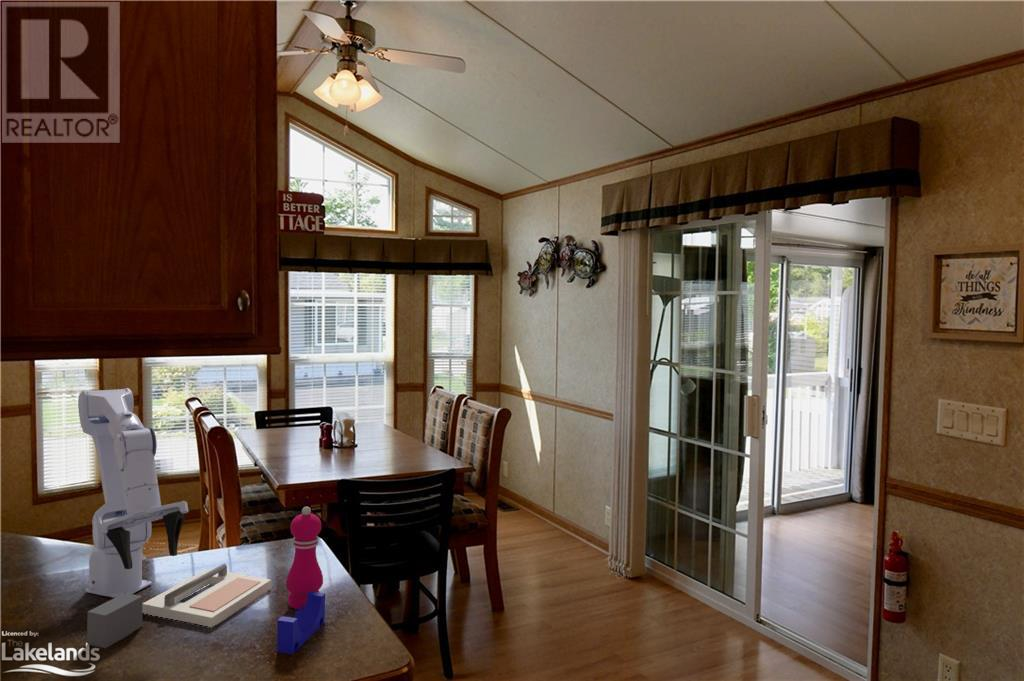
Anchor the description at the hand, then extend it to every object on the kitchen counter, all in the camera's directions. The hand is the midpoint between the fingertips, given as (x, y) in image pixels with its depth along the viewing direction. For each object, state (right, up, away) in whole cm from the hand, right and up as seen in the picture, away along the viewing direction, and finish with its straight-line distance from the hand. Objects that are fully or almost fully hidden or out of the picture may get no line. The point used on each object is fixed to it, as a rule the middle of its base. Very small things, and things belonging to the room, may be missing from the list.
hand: (151, 561), depth 123 cm
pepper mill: (+24, -13, +14) cm, 31 cm away
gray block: (-6, -13, -2) cm, 14 cm away
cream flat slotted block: (+5, -12, +13) cm, 19 cm away
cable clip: (+27, -14, +1) cm, 30 cm away
